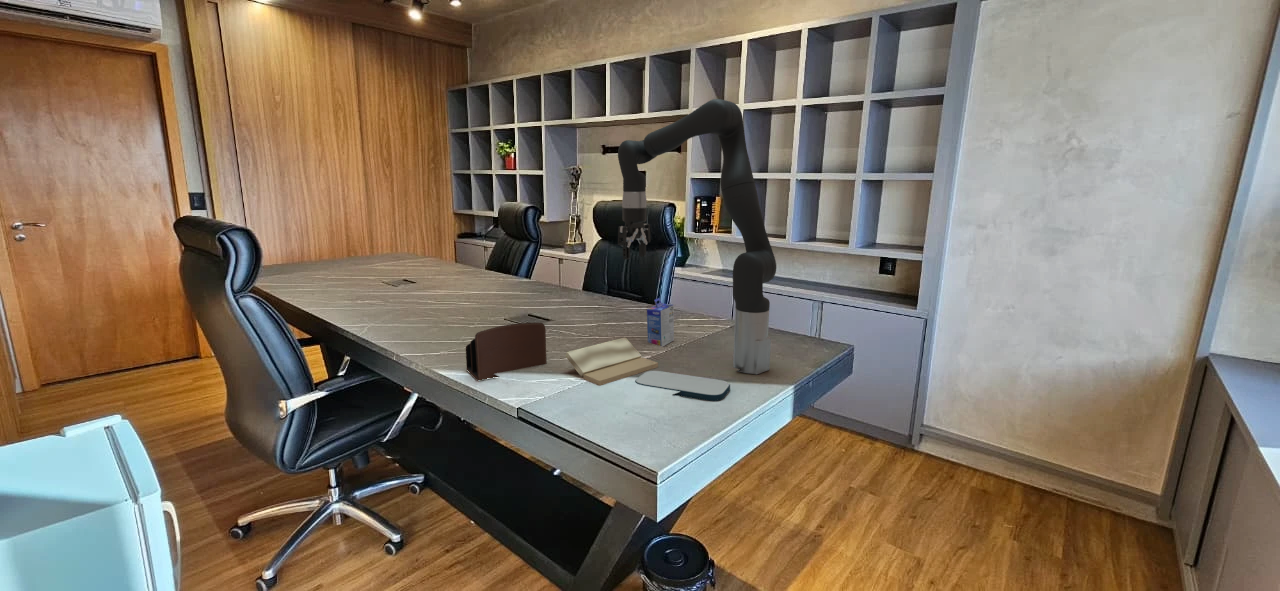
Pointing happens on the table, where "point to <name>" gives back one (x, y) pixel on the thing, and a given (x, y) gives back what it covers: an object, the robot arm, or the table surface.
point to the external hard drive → (686, 385)
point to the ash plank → (602, 356)
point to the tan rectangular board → (620, 371)
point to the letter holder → (506, 349)
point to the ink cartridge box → (660, 323)
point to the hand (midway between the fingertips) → (634, 257)
